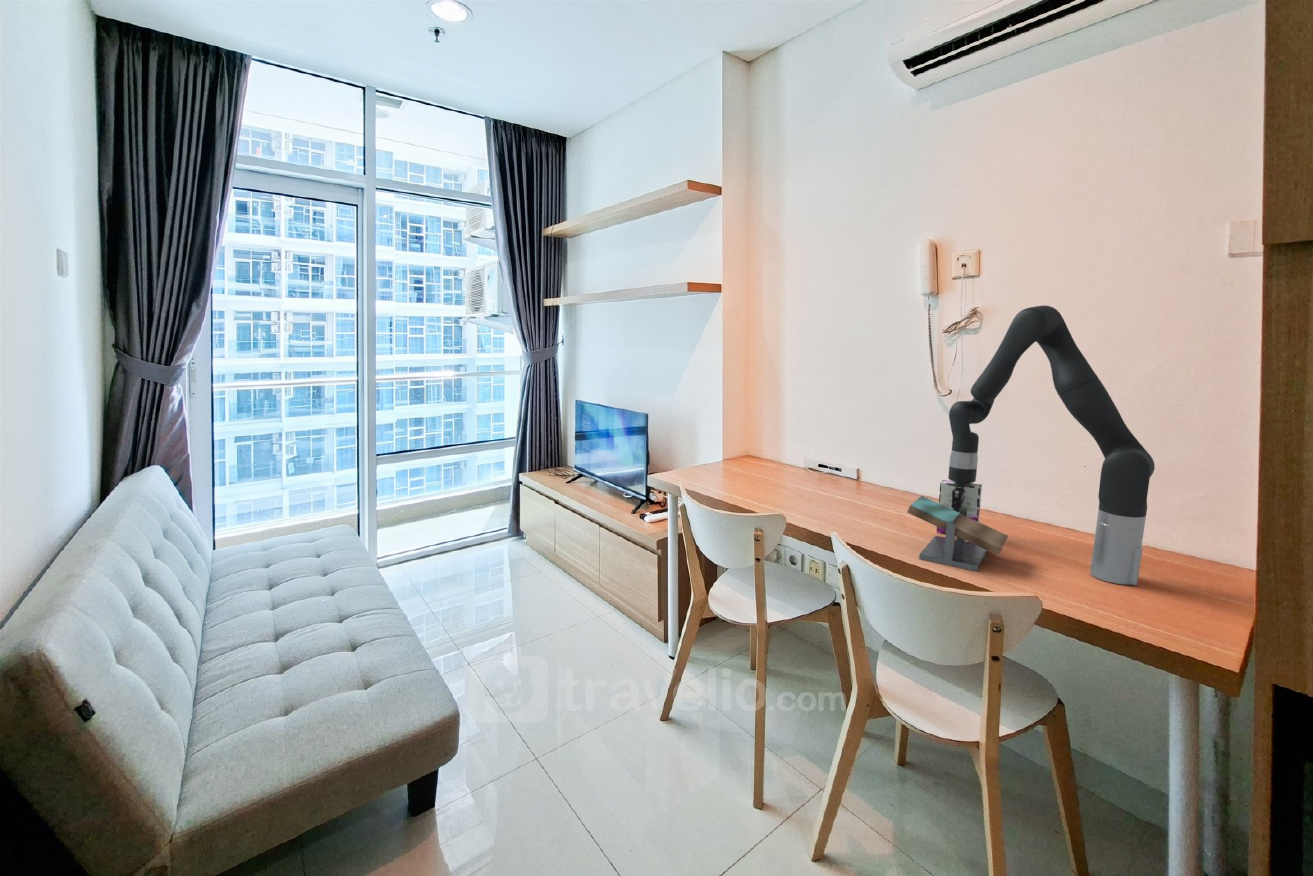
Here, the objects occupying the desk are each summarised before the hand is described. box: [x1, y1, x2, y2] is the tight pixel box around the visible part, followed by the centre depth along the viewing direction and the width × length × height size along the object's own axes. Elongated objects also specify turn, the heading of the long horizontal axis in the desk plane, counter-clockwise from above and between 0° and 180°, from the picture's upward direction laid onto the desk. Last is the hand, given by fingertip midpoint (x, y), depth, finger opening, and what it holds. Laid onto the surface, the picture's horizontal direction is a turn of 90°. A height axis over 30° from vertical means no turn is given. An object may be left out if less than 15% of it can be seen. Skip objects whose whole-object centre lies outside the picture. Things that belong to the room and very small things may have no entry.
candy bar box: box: [936, 479, 983, 537], centre depth 176 cm, size 11×5×16 cm, turn 55°
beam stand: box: [918, 507, 989, 572], centre depth 158 cm, size 14×20×12 cm
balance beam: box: [907, 495, 1009, 556], centre depth 158 cm, size 24×15×2 cm, turn 55°
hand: (958, 518), depth 177 cm, fingers closed on candy bar box, 5 cm apart
